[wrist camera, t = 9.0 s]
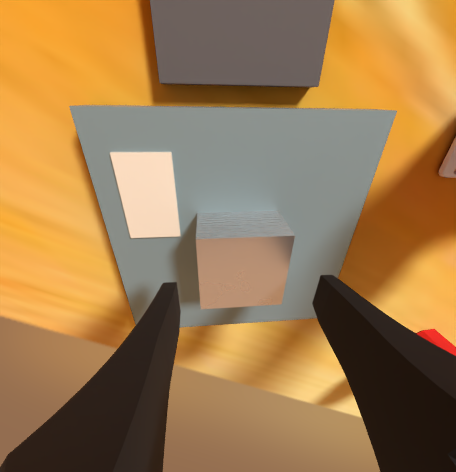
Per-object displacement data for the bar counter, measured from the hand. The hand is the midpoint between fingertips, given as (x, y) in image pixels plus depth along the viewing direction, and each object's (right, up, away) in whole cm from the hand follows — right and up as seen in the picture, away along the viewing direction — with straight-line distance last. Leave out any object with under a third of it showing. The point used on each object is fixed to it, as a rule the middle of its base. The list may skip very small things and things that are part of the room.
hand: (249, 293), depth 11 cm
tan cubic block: (-1, +3, +5) cm, 6 cm away
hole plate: (-1, +3, +5) cm, 6 cm away
